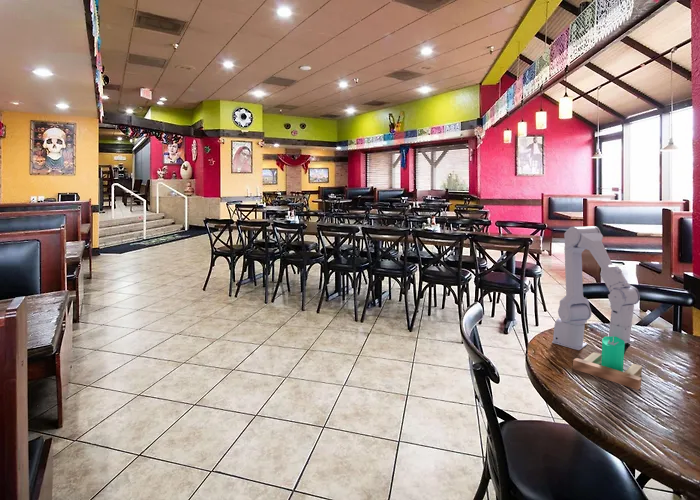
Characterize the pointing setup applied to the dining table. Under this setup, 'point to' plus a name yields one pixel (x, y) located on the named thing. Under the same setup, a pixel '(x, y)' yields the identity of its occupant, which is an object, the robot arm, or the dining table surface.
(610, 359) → the candle
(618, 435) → the dining table surface
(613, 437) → the dining table surface
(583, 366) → the stand
